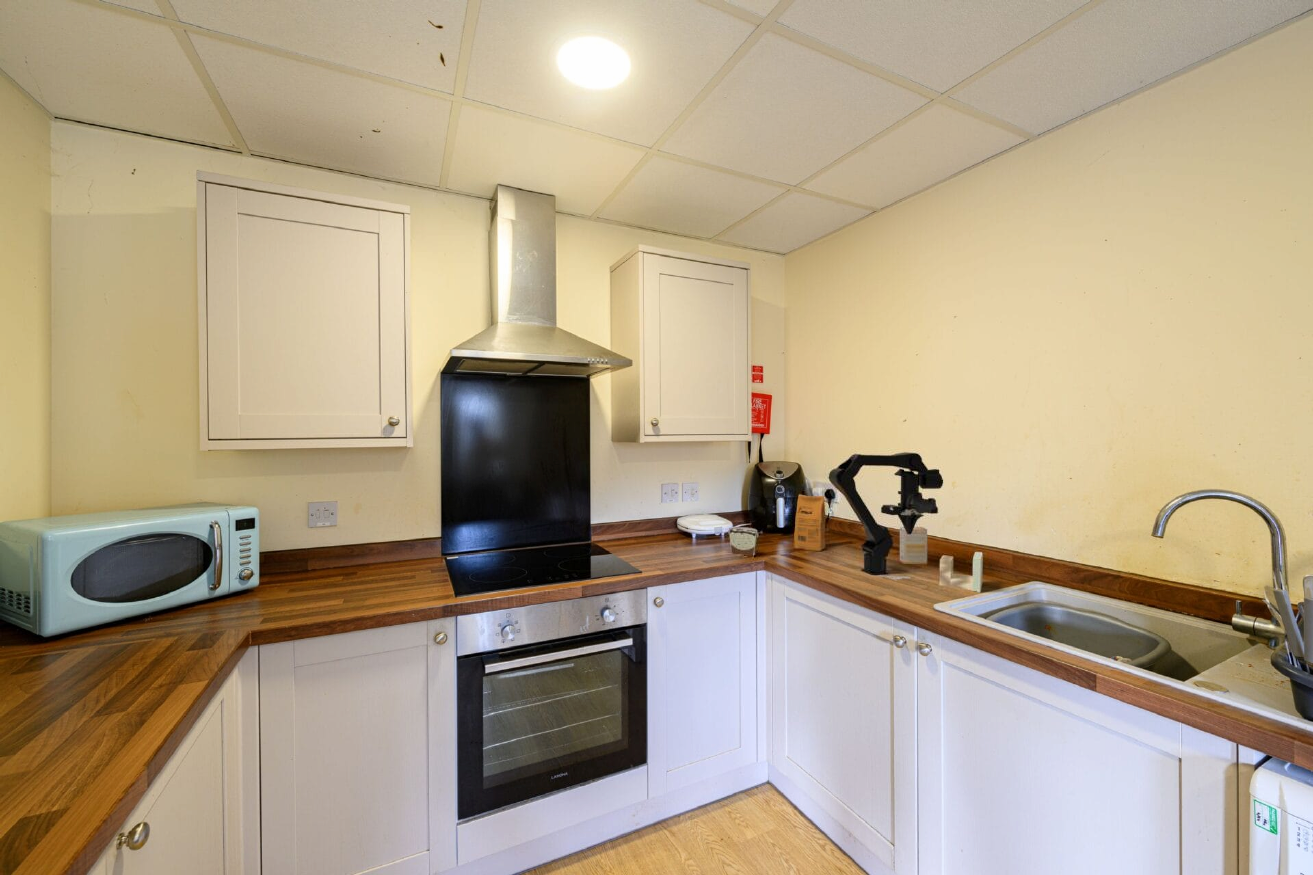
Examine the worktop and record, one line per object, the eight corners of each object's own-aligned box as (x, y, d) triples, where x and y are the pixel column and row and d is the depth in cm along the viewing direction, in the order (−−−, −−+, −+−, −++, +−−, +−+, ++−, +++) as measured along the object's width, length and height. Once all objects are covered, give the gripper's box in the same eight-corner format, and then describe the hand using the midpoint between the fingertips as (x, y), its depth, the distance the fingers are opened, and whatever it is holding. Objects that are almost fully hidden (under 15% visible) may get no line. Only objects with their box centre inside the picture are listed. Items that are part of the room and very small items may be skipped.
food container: (763, 554, 205) (763, 529, 205) (757, 557, 200) (757, 531, 200) (734, 550, 212) (734, 525, 212) (727, 553, 207) (727, 528, 207)
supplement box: (922, 561, 196) (922, 526, 195) (927, 565, 191) (927, 529, 191) (898, 561, 196) (899, 526, 196) (903, 564, 192) (904, 528, 191)
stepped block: (939, 585, 166) (939, 560, 166) (942, 579, 173) (942, 555, 172) (972, 590, 161) (973, 564, 161) (974, 584, 167) (974, 559, 167)
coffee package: (799, 544, 225) (799, 492, 224) (828, 548, 217) (828, 495, 217) (790, 548, 216) (790, 495, 216) (820, 552, 209) (821, 497, 209)
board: (972, 591, 160) (972, 558, 160) (974, 582, 169) (975, 551, 169) (980, 592, 159) (980, 559, 158) (982, 583, 168) (982, 552, 167)
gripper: (902, 492, 171) (902, 540, 171) (950, 491, 176) (950, 537, 176) (880, 488, 182) (879, 533, 182) (926, 487, 186) (925, 531, 187)
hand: (909, 534), depth 181 cm, fingers closed
